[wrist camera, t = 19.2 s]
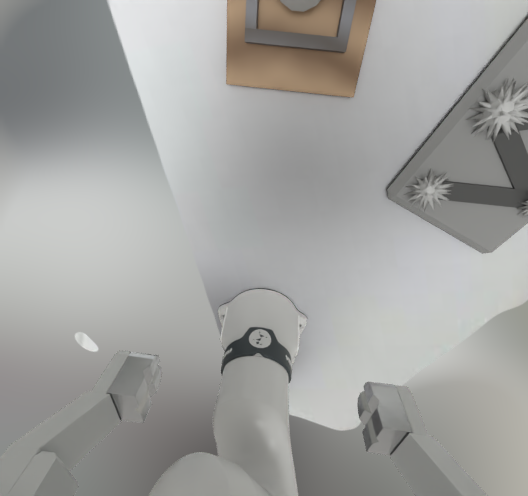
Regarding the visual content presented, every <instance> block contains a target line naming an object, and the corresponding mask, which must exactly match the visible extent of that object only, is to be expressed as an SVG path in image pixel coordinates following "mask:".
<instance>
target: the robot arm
mask: <svg viewBox="0 0 528 496" xmlns="http://www.w3.org/2000/svg"><path fill="white" fill-rule="evenodd" d="M218 315H219V319H220V322H221V326H222V331H221V335H220V341H221V342H222V346H223V349H224V351H225V353H224V356H223V360H222V367H221V374H222V379H221V383H220V388H219V392H218V396H217V401H216V405H215V410H214V414H213V432H214V437H215V440H216V445H217V451H218V456H215V455H212V454H209V453H204V452H198V453H192V454H189V455H187V456H185V457H183V458H181V459H179V460H178V461H176V462H175V463H174V464H173V465H171V466H170V467H169V468H168V469H167V470H166V471H165V473H164V474H163V475H162V476H161V477H160V479H159V480H158V481H157V483H156V484H155V486H154V487H153V489H152V491H151V492H150V494H149V496H298V491H297V485H296V477H295V470H294V463H293V457H292V450H291V442H290V431H289V383H290V381H291V373H292V364H294V361H295V356H297V354H298V351H299V337H300V335H301V333H302V331H303V329H304V328H305V326H306V324H307V317H306V316H305V315H303V314H302V313H300V312H299V311H298V310H297V309H296V308H295V306H294V305H293V303H292V302H291V301H290V300H289V299H288V298H287V297H285V296H284V295H282V294H280V293H278V292H275V291H272V290H266V289H253V290H249V291H245V292H243V293H241V294H239V295H238V296H236V297H235V298H234V299H233V300H232V301H231V302H229V303H227V304H224V305H222V306H220V307H219V308H218ZM159 362H160V359H159V356H158V355H151V354H142V353H135V352H128V351H118V352H117V353H116V354H115V355H114V357H113V358H112V360H111V361H110V363H109V364H108V366H107V367H106V369H105V370H104V372H103V374H102V375H101V377H100V378H99V380H98V381H97V383H96V385H95V386H94V388H93V389H92V391H91V392H90V391H87V392H85V393H84V394H82V395H81V396H79V397H78V398H77V399H75V400H74V401H72V402H71V403H69V404H68V405H67V406H65V407H64V408H62V409H61V410H59V411H58V412H57V413H55V414H54V415H52V416H51V417H50V418H48V419H47V420H45V421H44V422H42V423H41V424H39V425H38V426H37V427H36V428H34V429H32V430H31V431H30V432H28V433H27V434H25V435H24V436H22V437H21V438H19V439H18V440H17V441H15V442H14V443H12V444H11V445H10V446H9V447H8V449H7V450H6V451H5V452H4V454H3V455H2V457H1V458H0V496H74V495H75V493H76V491H77V489H78V481H77V480H76V479H75V478H74V476H73V475H72V474H71V473H70V471H71V470H72V469H73V468H74V467H75V466H76V465H77V464H78V463H79V462H80V461H81V460H82V459H83V458H84V457H85V456H86V455H87V454H88V453H89V452H90V451H91V450H92V449H93V448H94V447H96V446H97V445H98V444H99V443H100V442H101V441H102V440H103V439H104V438H105V437H106V436H107V435H108V434H109V433H110V432H111V431H112V430H113V429H114V428H115V427H116V426H117V425H118V424H119V423H120V422H121V421H131V422H141V423H143V422H144V421H145V418H146V416H147V413H148V411H149V409H150V407H151V400H150V397H152V396H153V395H154V394H155V393H156V392H157V390H158V387H159V385H160V381H161V377H162V369H161V367H160V366H159V365H158V364H159ZM364 390H365V391H363V392H361V393H360V395H359V397H358V414H359V419H360V420H361V421H362V422H363V424H364V425H365V427H364V429H363V432H362V433H363V438H364V442H365V446H366V451H367V452H369V453H376V454H382V455H388V456H390V458H391V460H392V461H393V463H394V464H395V466H396V468H397V469H398V470H399V472H400V474H401V475H402V476H403V478H404V480H405V481H406V483H407V484H408V485H409V487H410V488H411V490H412V491H413V493H414V495H415V496H488V495H487V494H486V493H485V492H484V491H483V490H482V489H481V487H479V485H478V484H477V483H476V482H475V481H474V480H473V479H472V478H471V477H470V476H469V475H468V474H467V472H466V471H465V470H464V469H463V468H462V467H461V466H460V465H459V464H458V463H457V462H456V460H455V459H454V458H453V457H452V456H451V455H450V454H449V453H448V452H447V451H446V450H445V449H444V448H443V446H442V445H441V444H440V443H439V442H438V441H437V440H436V439H435V438H434V437H433V436H430V435H428V432H427V430H426V427H425V425H424V422H423V420H422V417H421V415H420V412H419V410H418V407H417V405H416V402H415V400H414V398H413V395H412V393H411V391H410V389H409V388H408V387H406V386H399V385H393V384H383V383H374V382H367V383H365V385H364ZM120 420H121V421H120Z"/></svg>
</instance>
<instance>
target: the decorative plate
mask: <svg viewBox="0 0 528 496" xmlns="http://www.w3.org/2000/svg"><path fill="white" fill-rule="evenodd" d="M387 192H388V198H389V199H390V200H392V201H393V202H395V203H397V204H399V205H400V206H402V207H404V208H405V209H407V210H409V211H411V212H412V213H414V214H416V215H417V216H419V217H421V218H423V219H424V220H426V221H428V222H429V223H431V224H433V225H435V226H436V227H438V228H440V229H441V230H443V231H445V232H447V233H448V234H450V235H452V236H454V237H455V238H457V239H459V240H460V241H462V242H464V243H466V244H467V245H469V246H471V247H472V248H474V249H476V250H478V251H479V252H481V253H490V252H493V251H494V250H495V249H497V248H498V247H499V246H500V245H501V244H503V243H504V242H505V241H506V240H508V239H509V238H510V237H511V236H512V235H514V234H515V233H516V232H517V231H519V230H520V229H521V228H522V227H523V226H525V225H526V224H527V223H528V18H527V19H526V21H525V22H524V23H523V24H522V26H521V27H520V28H519V29H518V30H517V32H516V33H515V34H514V35H513V37H512V38H511V39H510V40H509V41H508V43H507V44H506V45H505V46H504V47H503V49H502V50H501V51H500V52H499V54H498V55H497V56H496V57H495V58H494V60H493V61H492V62H491V63H490V65H489V66H488V67H487V68H486V69H485V71H484V72H483V73H482V74H481V76H480V77H479V78H478V79H477V80H476V82H475V83H474V84H473V85H472V87H471V88H470V89H469V90H468V91H467V93H466V94H465V95H464V96H463V98H462V99H461V100H460V101H459V102H458V104H457V105H456V106H455V107H454V109H453V110H452V111H451V112H450V113H449V115H448V116H447V117H446V118H445V119H444V121H443V122H442V123H441V124H440V126H439V127H438V128H437V129H436V130H435V132H434V133H433V134H432V135H431V137H430V138H429V139H428V140H427V141H426V143H425V144H424V145H423V146H422V148H421V149H420V150H419V151H418V152H417V154H416V155H415V156H414V157H413V159H412V160H411V161H410V162H409V163H408V165H407V166H406V167H405V168H404V170H403V171H402V172H401V173H400V174H399V176H398V177H397V178H396V179H395V181H394V182H393V183H392V184H391V185H390V187H389V188H388V189H387Z"/></svg>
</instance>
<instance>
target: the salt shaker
mask: <svg viewBox="0 0 528 496" xmlns="http://www.w3.org/2000/svg"><path fill="white" fill-rule="evenodd" d="M280 1H281V2H282V3H283V4H284V5H285V6H287V7H288V8H289V9H290V10H292V11H302V12H304V11H306V10H308V9H310V8H312V7H314V6H316V5H317V4H318V3H319V2H320V0H280Z"/></svg>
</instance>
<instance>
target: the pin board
mask: <svg viewBox="0 0 528 496" xmlns="http://www.w3.org/2000/svg"><path fill="white" fill-rule="evenodd" d="M375 3H376V0H320V2H319V3H318V4H317V5H316V6H314V7H312V8H310V9H308V10H306V11H304V12H302V11H292V10H290V9H289V8H288V7H287V6H285V5H284V4H283V3H282V2H281V1H280V0H227V74H226V84H230V85H240V86H249V87H259V88H268V89H277V90H287V91H296V92H306V93H315V94H325V95H334V96H344V97H354V93H355V89H356V84H357V80H358V76H359V72H360V67H361V63H362V59H363V55H364V50H365V46H366V42H367V38H368V33H369V29H370V25H371V20H372V16H373V12H374V8H375Z"/></svg>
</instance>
